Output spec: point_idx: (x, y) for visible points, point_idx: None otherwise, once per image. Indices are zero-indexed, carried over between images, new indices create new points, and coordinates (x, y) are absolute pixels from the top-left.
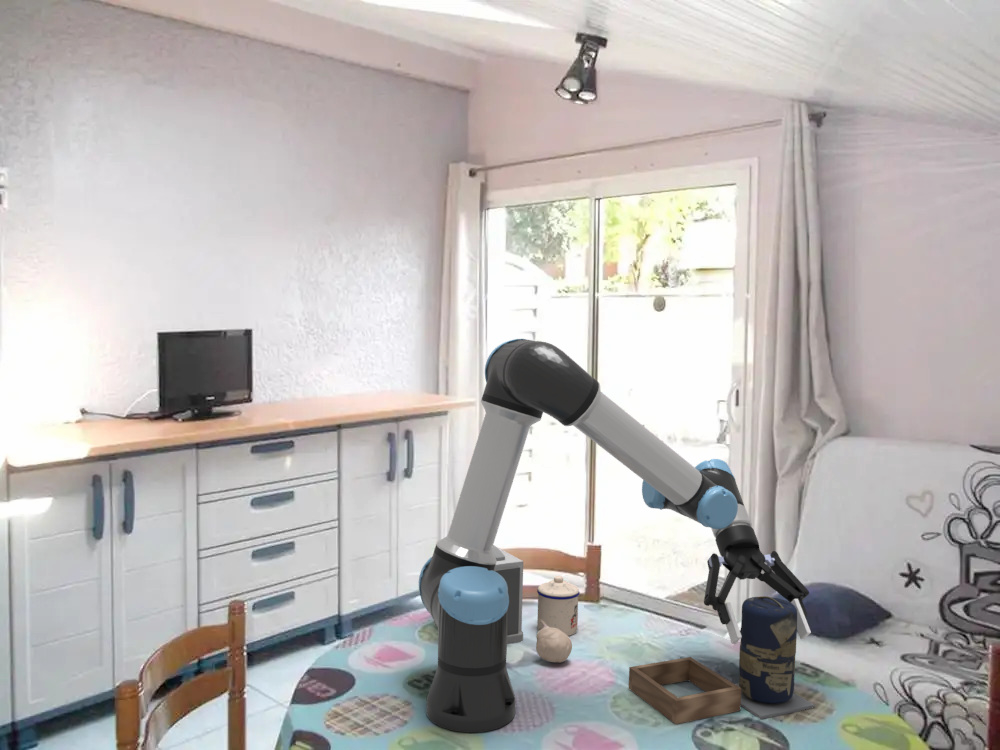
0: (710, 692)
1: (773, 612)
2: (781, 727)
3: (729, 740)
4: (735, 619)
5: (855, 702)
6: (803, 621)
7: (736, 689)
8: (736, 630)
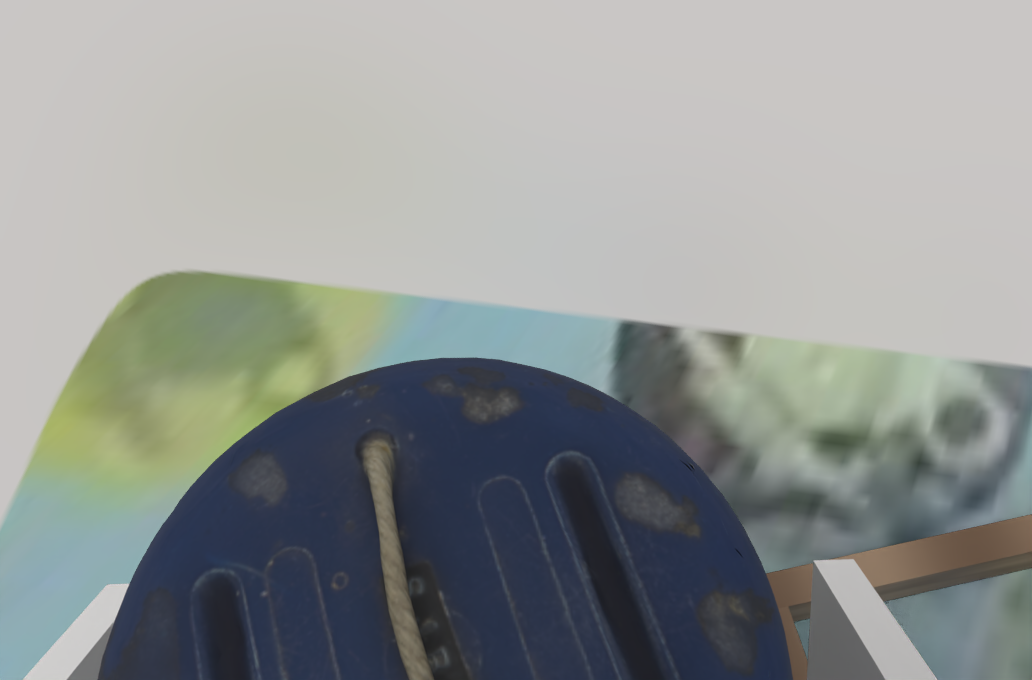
0: (951, 555)
1: (548, 382)
2: None
3: (868, 355)
4: (889, 677)
5: (67, 604)
6: (82, 654)
7: (776, 573)
8: (871, 597)
